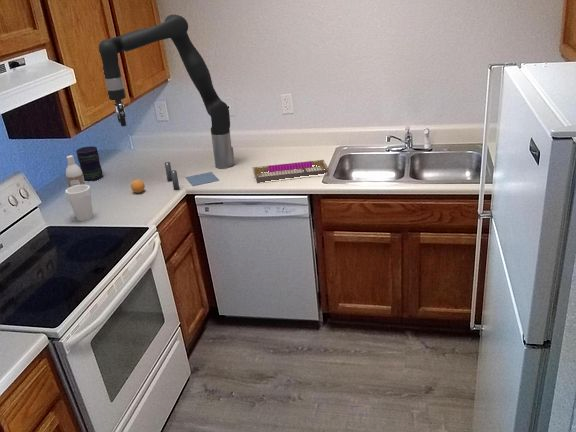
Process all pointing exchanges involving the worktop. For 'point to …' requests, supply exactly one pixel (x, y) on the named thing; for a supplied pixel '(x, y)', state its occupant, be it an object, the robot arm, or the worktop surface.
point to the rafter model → (289, 167)
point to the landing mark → (202, 178)
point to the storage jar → (89, 163)
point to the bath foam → (74, 173)
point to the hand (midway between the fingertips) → (122, 124)
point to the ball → (137, 186)
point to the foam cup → (80, 201)
